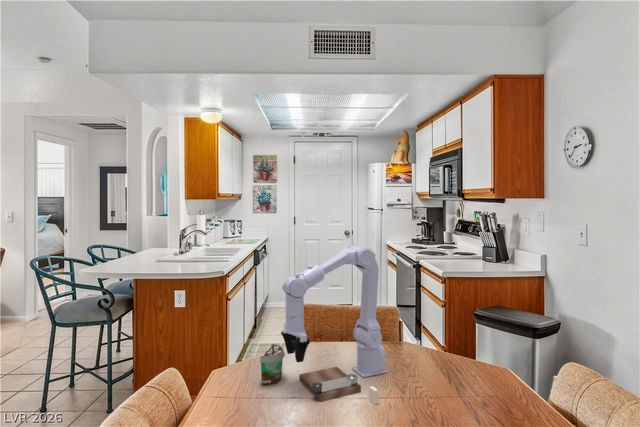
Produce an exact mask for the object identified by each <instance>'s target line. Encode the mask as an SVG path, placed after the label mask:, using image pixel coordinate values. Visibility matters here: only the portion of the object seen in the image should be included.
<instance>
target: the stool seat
mask: <svg viewBox="0 0 640 427" xmlns="http://www.w3.org/2000/svg"><path fill="white" fill-rule="evenodd" d="M298 374H299V373H298ZM347 375H348V374H346V373H345V372H344V371H343V370H341V369H340V368H339V367H338V366H335V367H329V368H325V369H320V370H314V371H309V372H305V373H301V374H299V382H301V383H302V385H303V386H304V387H306V389H307V390H308V391H309V392H310V393H311V394H312V395H313V396H314V397H315V398H316V399H317V401H319V402H321V403H322V402H325V400H326V401H328V400H329V399H330V400H333V399H337V398H341V397H345V396H349V395H355V394H359V393H361V392H362V390H361V389H362V385H361V384H359V383H358V382H357V385H356V386H349V387H344V388H340V389H336V390H331V391H327V392H323V393H320V394H314V393H313V392H312V384H313V383H315V382H325V381H329V380H334V379H339V378H343V377H347Z"/></svg>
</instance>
